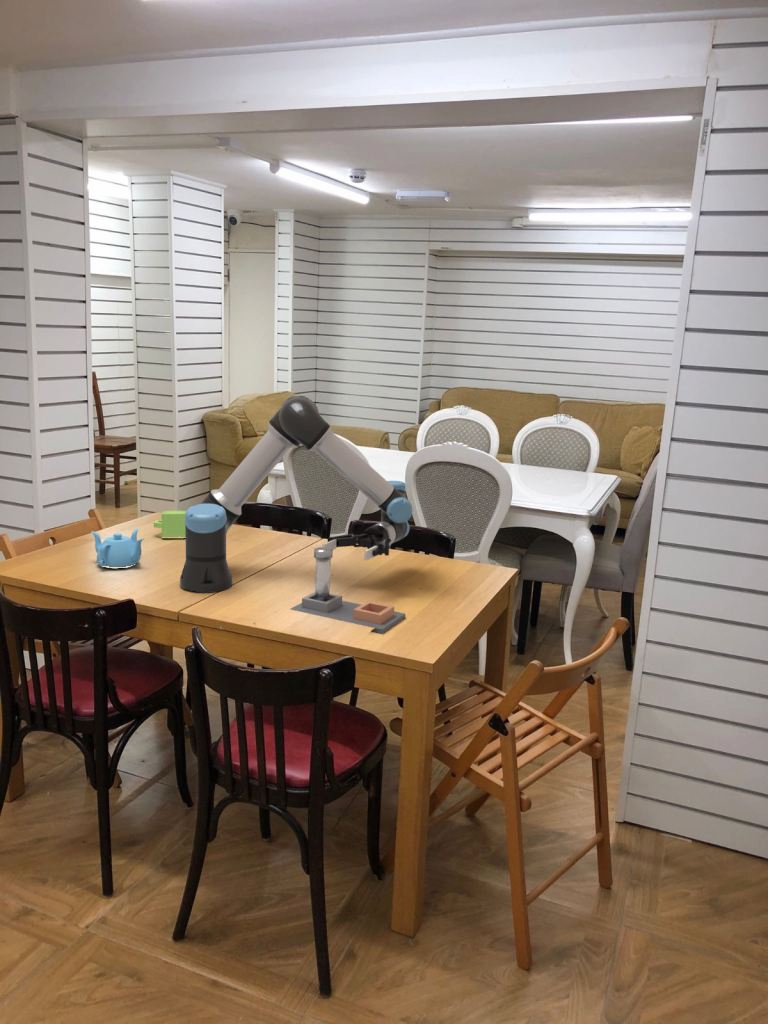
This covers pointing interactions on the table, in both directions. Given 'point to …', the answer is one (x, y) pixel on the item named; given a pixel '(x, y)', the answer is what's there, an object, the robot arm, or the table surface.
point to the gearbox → (172, 523)
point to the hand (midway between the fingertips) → (344, 552)
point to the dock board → (352, 612)
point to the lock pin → (322, 573)
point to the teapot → (118, 550)
